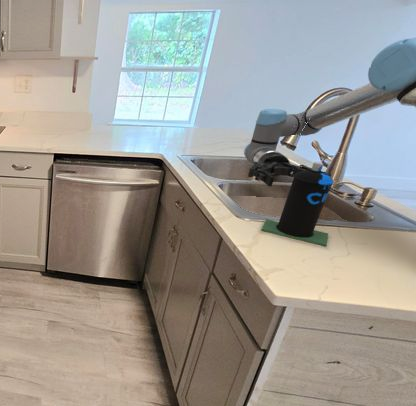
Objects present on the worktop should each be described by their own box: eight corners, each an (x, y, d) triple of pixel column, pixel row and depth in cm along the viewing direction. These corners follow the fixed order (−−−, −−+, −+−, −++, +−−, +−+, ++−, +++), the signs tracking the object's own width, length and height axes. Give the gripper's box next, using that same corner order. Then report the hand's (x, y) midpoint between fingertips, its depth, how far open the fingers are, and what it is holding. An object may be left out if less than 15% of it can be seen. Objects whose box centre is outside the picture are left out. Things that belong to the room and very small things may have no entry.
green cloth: (327, 235, 101) (328, 233, 101) (325, 246, 96) (326, 244, 96) (265, 220, 110) (266, 218, 110) (261, 230, 105) (261, 228, 105)
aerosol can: (269, 227, 105) (291, 161, 97) (287, 222, 108) (310, 157, 100) (301, 240, 98) (327, 169, 90) (320, 234, 101) (347, 165, 93)
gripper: (313, 176, 119) (350, 200, 100) (225, 170, 126) (244, 192, 108) (321, 153, 116) (361, 175, 97) (230, 149, 123) (251, 168, 105)
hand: (300, 184), depth 103 cm, fingers open, 13 cm apart
